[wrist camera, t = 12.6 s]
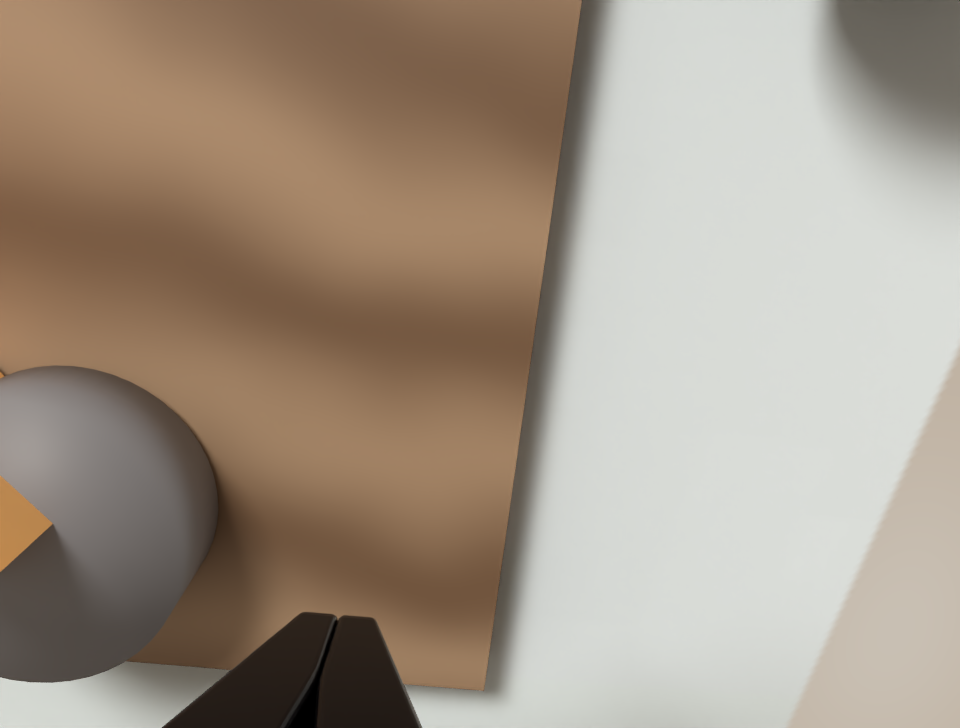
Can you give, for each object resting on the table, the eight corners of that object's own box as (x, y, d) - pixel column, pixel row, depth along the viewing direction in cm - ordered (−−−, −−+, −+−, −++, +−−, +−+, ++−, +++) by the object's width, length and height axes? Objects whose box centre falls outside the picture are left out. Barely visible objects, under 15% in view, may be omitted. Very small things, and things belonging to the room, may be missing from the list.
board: (482, 656, 23) (483, 693, 21) (-282, 591, 21) (-340, 625, 20) (599, -181, 17) (612, -214, 15) (-454, -337, 15) (-554, -391, 14)
